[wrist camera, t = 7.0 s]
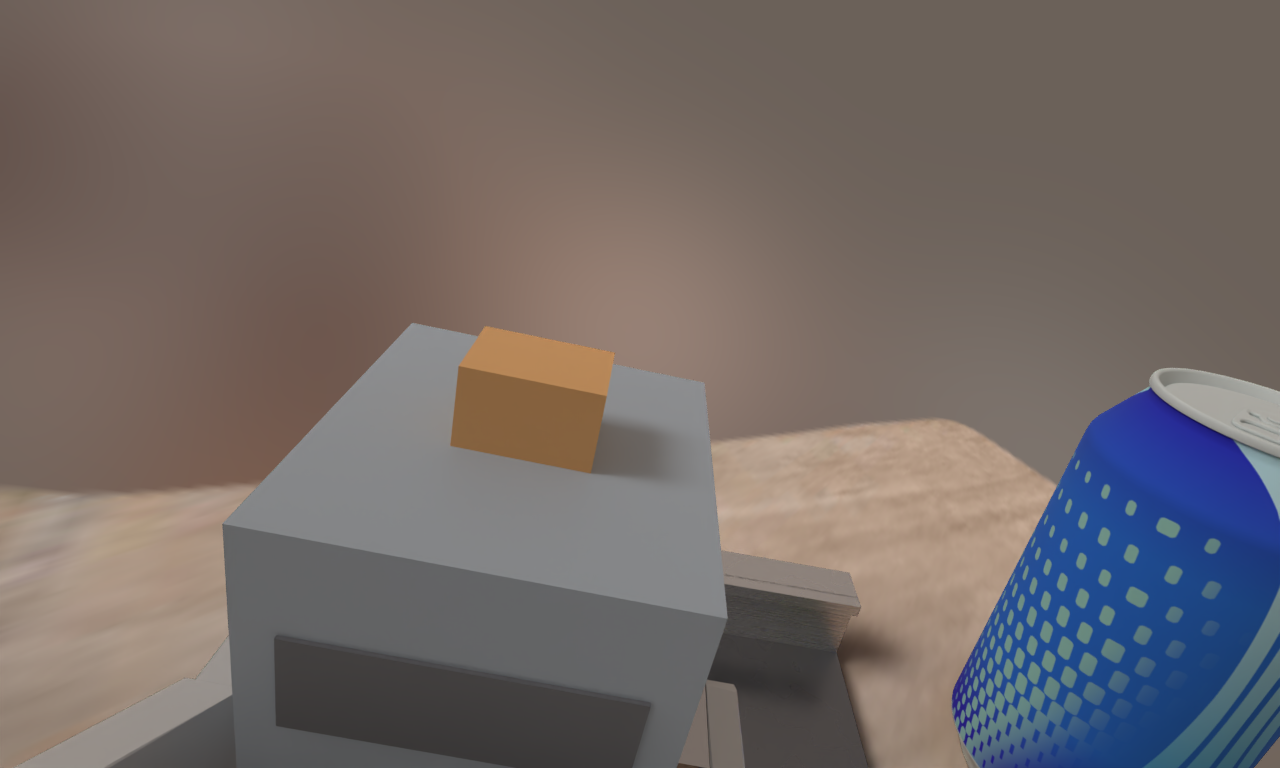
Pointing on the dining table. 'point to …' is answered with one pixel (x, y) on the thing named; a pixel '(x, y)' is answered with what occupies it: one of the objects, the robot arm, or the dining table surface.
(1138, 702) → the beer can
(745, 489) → the dining table surface
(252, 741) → the module
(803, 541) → the dining table surface
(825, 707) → the rail plate
